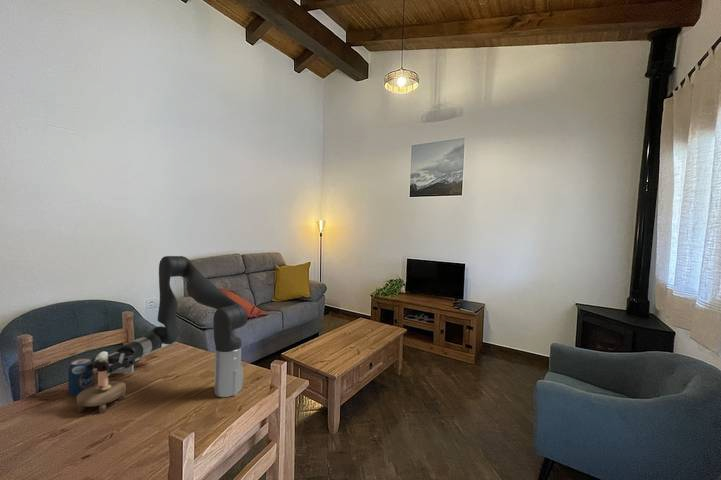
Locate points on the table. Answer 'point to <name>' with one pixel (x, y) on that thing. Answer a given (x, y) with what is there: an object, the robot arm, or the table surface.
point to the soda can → (79, 376)
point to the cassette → (123, 369)
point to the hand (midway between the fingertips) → (97, 369)
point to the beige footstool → (100, 396)
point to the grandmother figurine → (102, 371)
